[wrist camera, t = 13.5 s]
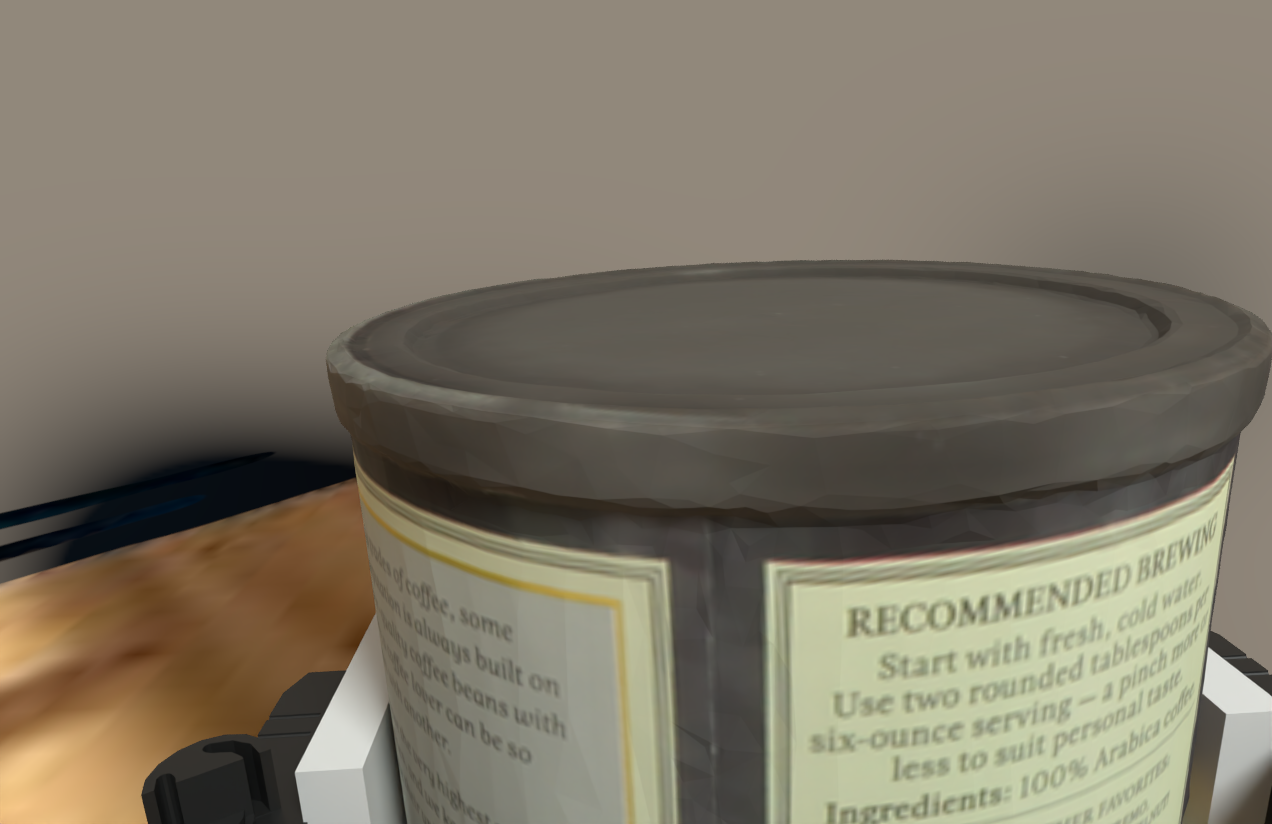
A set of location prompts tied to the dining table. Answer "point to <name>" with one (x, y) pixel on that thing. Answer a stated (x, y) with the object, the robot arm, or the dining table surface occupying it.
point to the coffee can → (799, 541)
